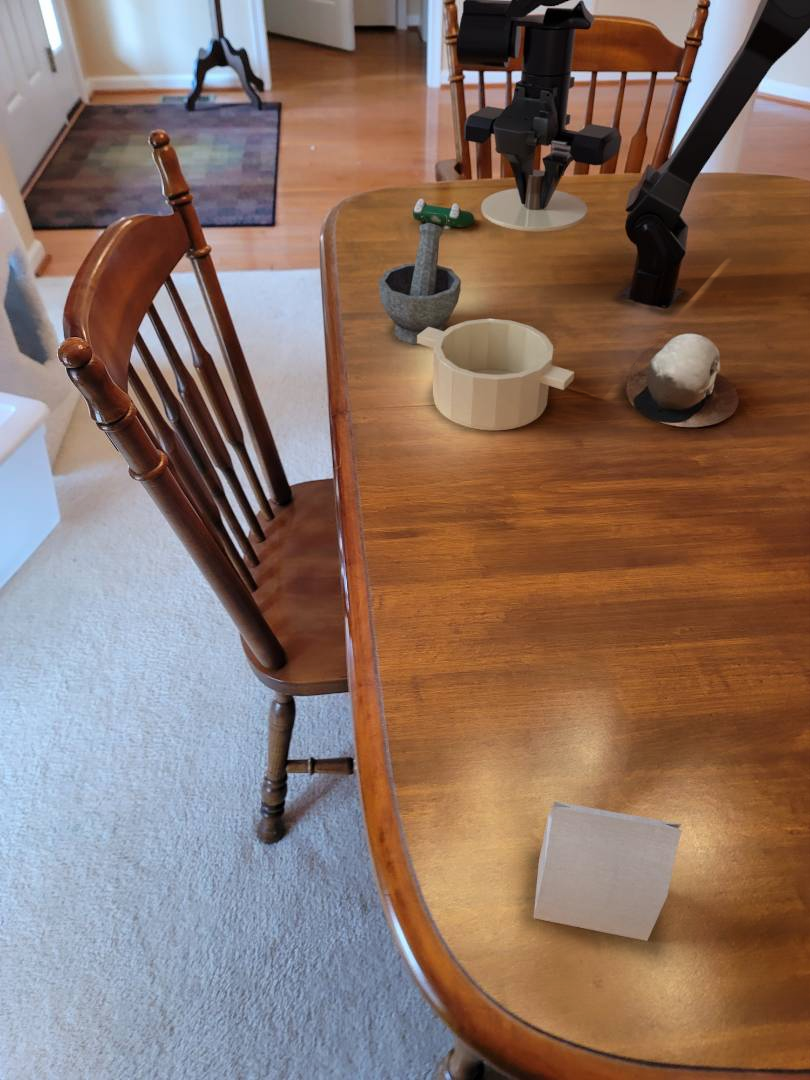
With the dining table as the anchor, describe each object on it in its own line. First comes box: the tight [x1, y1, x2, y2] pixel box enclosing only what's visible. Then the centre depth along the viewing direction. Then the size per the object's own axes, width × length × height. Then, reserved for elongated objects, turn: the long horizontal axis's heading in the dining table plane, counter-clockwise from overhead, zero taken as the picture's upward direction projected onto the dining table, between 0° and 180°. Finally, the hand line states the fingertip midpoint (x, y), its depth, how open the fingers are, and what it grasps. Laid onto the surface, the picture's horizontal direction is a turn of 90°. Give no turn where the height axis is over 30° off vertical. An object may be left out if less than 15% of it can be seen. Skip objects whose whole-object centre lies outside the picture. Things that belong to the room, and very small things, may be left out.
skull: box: [625, 333, 740, 428], centre depth 92 cm, size 12×10×10 cm
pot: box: [417, 318, 575, 431], centre depth 91 cm, size 13×18×6 cm
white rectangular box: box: [533, 800, 683, 942], centre depth 48 cm, size 4×7×10 cm, turn 78°
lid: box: [480, 169, 588, 232], centre depth 107 cm, size 14×14×5 cm
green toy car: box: [412, 198, 475, 230], centre depth 128 cm, size 9×4×6 cm
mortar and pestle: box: [378, 223, 462, 345], centre depth 101 cm, size 11×9×12 cm
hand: (534, 205), depth 108 cm, fingers closed on lid, 2 cm apart
